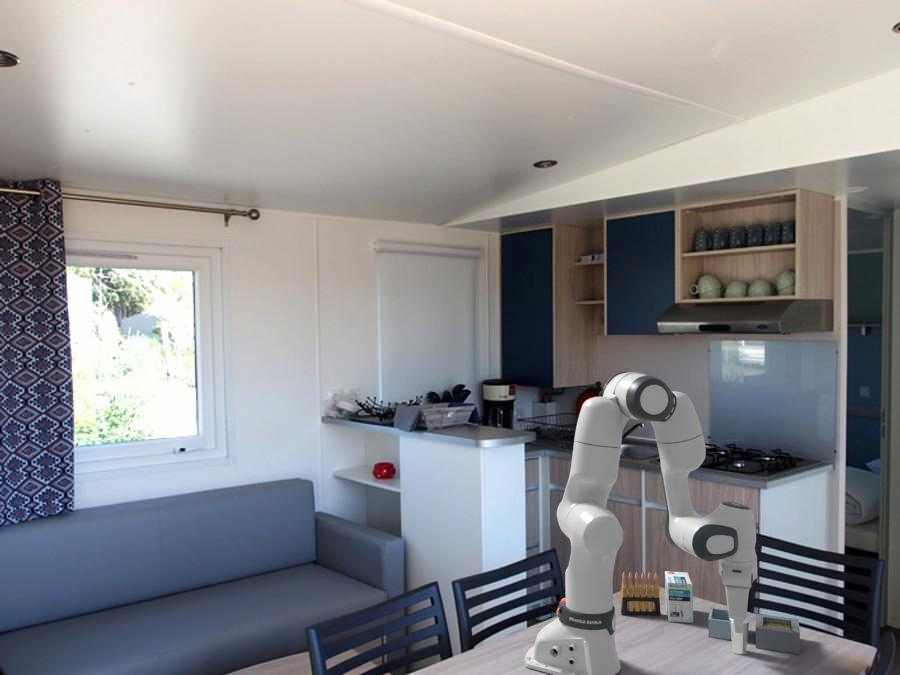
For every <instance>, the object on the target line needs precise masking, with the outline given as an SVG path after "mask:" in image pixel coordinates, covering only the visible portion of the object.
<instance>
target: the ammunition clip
mask: <svg viewBox="0 0 900 675" xmlns="http://www.w3.org/2000/svg"><path fill="white" fill-rule="evenodd" d="M644 572H645V571H642V573H641V575H640V576H639V573H638V571H636V572H635V575H634V580H633V574H632V572H631V571H629V573H628V578H627V575H626V571H623V573H622V576H621V579H622V580H621V590H620V591H621V598H620V600H621V601H620V613H621V615H622V616H634V617H635V616H637V617H638V616H641V617H642V616H643V617H644V616H645V617H646V616H647V617H661V615H662V614H661V601H660V599H661V598H660V585H659V575H658V572H656V571H655V573H654V575H653V577H652V573H651V572H650V571H649V572H648V574H647V583H646V574H645V573H644ZM627 579H628V581H627ZM627 583H628V584H627Z"/></svg>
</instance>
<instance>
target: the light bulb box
mask: <svg viewBox="0 0 900 675" xmlns="http://www.w3.org/2000/svg"><path fill="white" fill-rule="evenodd" d="M664 585H665V587H664V588H665V591H664V593H665V594H664V596H665V610H666V615H667V620H668V622H672V623H687V624H689V623H690V624H694V593H693V586H694V585H693V582H692V580H691V577H690V575H689V572H685V571H684V572H683V571H682V572H681V571H668V570H667V571H666V570H665V571H664Z"/></svg>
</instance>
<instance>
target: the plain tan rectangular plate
mask: <svg viewBox="0 0 900 675" xmlns="http://www.w3.org/2000/svg"><path fill="white" fill-rule="evenodd" d="M764 626H765V627H773V628H780V629H788V630H790V625H783V624H775V623H768V622H764Z"/></svg>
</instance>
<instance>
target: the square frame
mask: <svg viewBox="0 0 900 675" xmlns="http://www.w3.org/2000/svg"><path fill="white" fill-rule="evenodd" d="M764 622H768V623H775V624H783V625H790V630H788V629H780V628H773V627H765V626H764ZM755 649H762V650H769V651H775V652H776V651H777V652H783V653H788V654H797V655H801V631H800V621H799V618H795V617H794V618H793V617H786V616H777V615H771V614H769V615H768V614H761V613H756V614H755Z"/></svg>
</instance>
